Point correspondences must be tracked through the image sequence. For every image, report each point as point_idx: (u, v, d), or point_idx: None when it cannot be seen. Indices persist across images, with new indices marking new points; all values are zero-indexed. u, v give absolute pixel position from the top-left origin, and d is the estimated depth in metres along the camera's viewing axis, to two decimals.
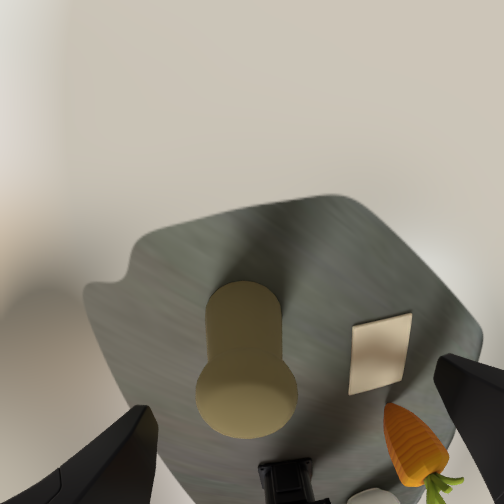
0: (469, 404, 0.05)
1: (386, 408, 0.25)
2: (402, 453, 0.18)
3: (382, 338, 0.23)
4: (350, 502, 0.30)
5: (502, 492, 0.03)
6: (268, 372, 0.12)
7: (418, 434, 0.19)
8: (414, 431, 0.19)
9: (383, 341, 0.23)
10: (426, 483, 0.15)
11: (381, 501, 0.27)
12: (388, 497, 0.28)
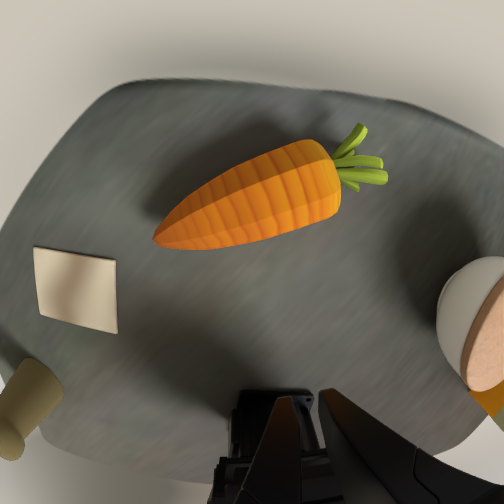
0: (338, 454, 0.05)
1: (161, 228, 0.16)
2: (274, 167, 0.14)
3: (51, 286, 0.19)
4: None
5: None
6: None
7: None
8: None
9: (54, 286, 0.19)
10: (341, 169, 0.16)
11: (454, 304, 0.17)
12: (462, 283, 0.17)
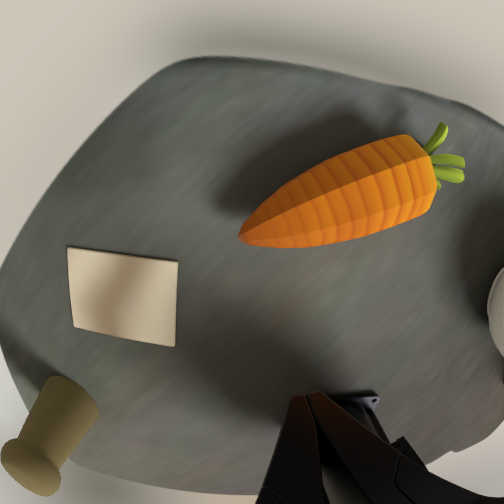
0: (323, 457, 0.05)
1: (253, 223, 0.14)
2: (383, 160, 0.12)
3: (90, 294, 0.17)
4: None
5: None
6: None
7: (348, 151, 0.14)
8: (340, 155, 0.14)
9: (94, 293, 0.17)
10: None
11: None
12: None
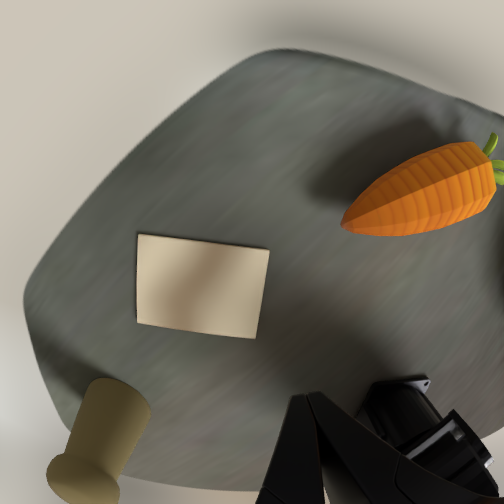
0: (323, 457, 0.05)
1: (359, 211, 0.14)
2: (461, 162, 0.13)
3: (163, 286, 0.17)
4: None
5: None
6: (47, 474, 0.10)
7: (429, 152, 0.14)
8: (424, 155, 0.14)
9: (169, 285, 0.17)
10: None
11: None
12: None
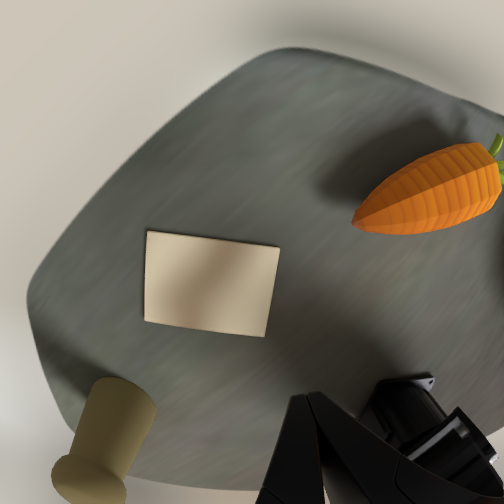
0: (323, 457, 0.05)
1: (370, 210, 0.14)
2: (469, 163, 0.13)
3: (172, 283, 0.17)
4: None
5: None
6: (52, 476, 0.10)
7: (437, 153, 0.14)
8: (432, 155, 0.14)
9: (178, 282, 0.17)
10: None
11: None
12: None
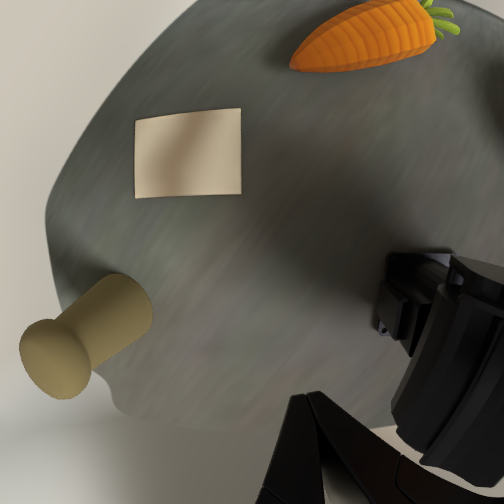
0: (323, 457, 0.05)
1: (299, 50, 0.14)
2: (382, 2, 0.11)
3: (156, 156, 0.19)
4: None
5: None
6: None
7: None
8: None
9: (160, 154, 0.19)
10: None
11: None
12: None
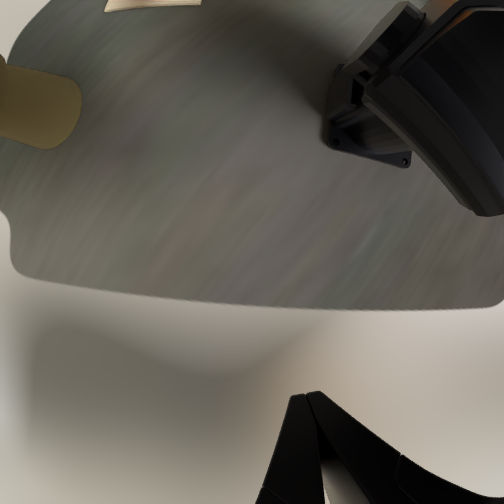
0: (323, 457, 0.05)
1: None
2: None
3: None
4: None
5: None
6: None
7: None
8: None
9: None
10: None
11: None
12: None
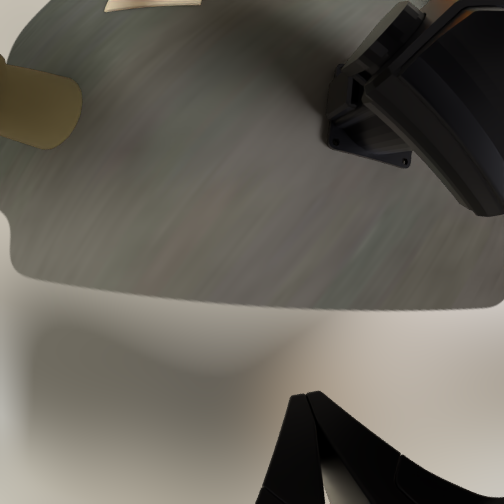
0: (323, 457, 0.05)
1: None
2: None
3: None
4: None
5: None
6: None
7: None
8: None
9: None
10: None
11: None
12: None
